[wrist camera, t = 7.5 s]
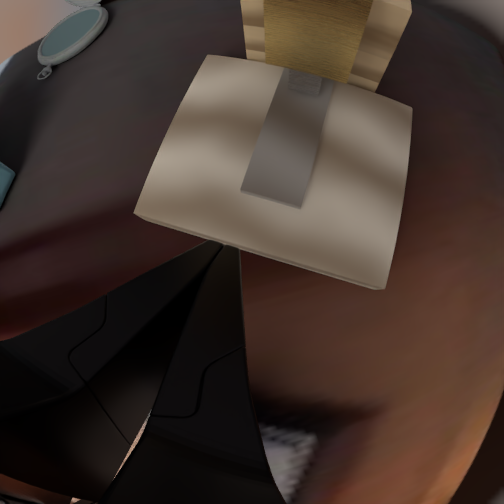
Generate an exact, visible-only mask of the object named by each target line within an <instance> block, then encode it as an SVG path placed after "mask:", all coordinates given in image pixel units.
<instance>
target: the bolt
mask: <svg viewBox="0 0 504 504" xmlns="http://www.w3.org/2000/svg"><path fill="white" fill-rule="evenodd" d="M372 3H373V0H263V6H264V32H265V62H266V64H269V65H274V66H279V67H284V68H288V69H290V71H289V84H288V88H290V89H295V90H299V91H302V92H306V93H310V94H314V95H317V96H318V94H319V90H320V86H321V83H322V79H323V77H324V78H328V79H331V80H335V81H338V82H341V83H345V84H347V81H348V78H349V75H350V72H351V69H352V66H353V63H354V60H355V57H356V54H357V51H358V48H359V44H360V41H361V38H362V35H363V32H364V29H365V26H366V22H367V19H368V16H369V13H370V10H371V6H372Z"/></svg>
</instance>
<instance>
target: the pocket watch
mask: <svg viewBox="0 0 504 504" xmlns="http://www.w3.org/2000/svg"><path fill="white" fill-rule="evenodd" d="M65 1H66V2H68V3H70V4H72V5H75V6H81V7H83V8H81V9H80V10H78V11H76V12H74V13H72V14H71V15H69V16H67V17H66V18H64V19H63V20H62V21H60V22H59V23H58V24H57V25H56V26H55V27H53V29H51V31H50V32H49V33H48V34H47V35H46V36H45V38H44V39H43V41H42V42H41V44H40V46H39V49H38V60H39V62H40V63H41V64H42V65H45V66H47V67H45V68H43V70H42V71H41V72H40V73H39V74H38V76H37V78H38V79H39V80H42V79H45V78H46V77H48V76H49V75H50V74H51V72H52V69H51V66H53V65H57V64H60V63H62V62H64V61H66V60H68V59H70V58H72V57H73V56H75V55H77V54H78V53H80V52H81V51H82V50H84V49H85V48H86V47H87V46H88V45H90V44H91V43H92V42H93V41H94V40H95V39H96V38H97V36H98V35H99V34H100V33H101V32H102V30H103V29H104V28H105V26H106V24H107V21H108V12H107V10H106V9H105V8H103V7H100V4H96V3H98V2H99V1H101V0H65ZM41 73H42V75H43V76H46V77H44V78H39V75H40V74H41ZM48 73H49V74H48ZM47 74H48V75H47Z"/></svg>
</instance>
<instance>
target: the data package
mask: <svg viewBox="0 0 504 504" xmlns="http://www.w3.org/2000/svg"><path fill="white" fill-rule="evenodd" d="M14 176H15V172H14V171H13V170H11V169H10V168H8V167H7V166H6V165H4V164H3V163H2V162H0V207H1V205H2V202H3V200H4V198H5V195H6V193H7V191H8V189H9V187H10V185H11V183H12V181H13V179H14Z"/></svg>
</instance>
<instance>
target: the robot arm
mask: <svg viewBox="0 0 504 504" xmlns="http://www.w3.org/2000/svg"><path fill="white" fill-rule="evenodd" d="M245 347H246V343H245V327H244V311H243V295H242V278H241V260H240V249H239V248H237V247H234V246H231V245H227V244H226V245H224V244H223V243H221V242H218V241H214V240H207V241H205V242H203V243H201V244H199V245H197V246H195V247H193V248H192V249H190V250H188V251H186V252H184V253H182V254H180V255H178V256H176V257H174V258H172V259H170V260H168V261H166V262H164V263H163V264H161V265H159V266H157V267H155V268H153V269H151V270H149V271H147V272H145V273H144V274H142V275H140V276H138V277H136V278H134V279H132V280H130V281H129V282H127V283H125V284H123V285H121V286H119V287H117V288H116V289H114V290H112V291H110V292H108V293H107V295H103V296H101V297H99V298H97V299H95V300H93V301H92V302H90V303H88V304H86V305H84V306H82V307H80V308H78V309H76V310H74V311H72V312H70V313H68V314H65V315H63V316H61V317H59V318H57V319H55V320H52V321H50V322H48V323H45V324H43V325H41V326H39V327H36V328H34V329H32V330H29V331H27V332H25V333H23V334H20V335H18V336H16V337H13V338H11V339H7V340H4V341H0V504H70V502H71V500H72V498H73V497H74V498H78V499H81V500H79V501H77V502H75V503H74V504H286V502H285V500H284V498H283V497H282V495H281V493H280V491H279V489H278V487H277V485H276V483H275V481H274V478H273V476H272V473H271V470H270V467H269V464H268V461H267V457H266V454H265V450H264V446H263V442H262V438H261V434H260V430H259V426H258V422H257V417H256V413H255V409H254V405H253V400H252V395H251V389H250V384H249V376H248V367H247V356H246V348H245ZM151 409H152V410H151ZM150 411H151V413H150ZM149 413H150V417H149V419H148V421H147V424H146V426H145V429H144V431H143V433H142V435H141V437H140V440H139V441H138V443H137V445H136V446H135V448H134V449H133V451H132V452H131V454H130V455H129V457H128V458H127V460H126V461H125V463H124V464H123V466H122V467H121V469H120V470H119V468H120V466H121V464H122V462H123V460H124V459H125V457H126V455H127V453H128V451H129V449H130V447H131V446H130V445H132V444H133V442H134V440H135V438H136V436H137V434H138V433H139V431H140V429H141V427H142V425H143V423H144V422H145V420H146V418H147V416H148V414H149ZM118 470H119V472H118V473H117V471H118ZM116 473H117V475H116ZM115 475H116V476H115ZM114 477H115V478H114ZM113 479H114V480H113Z"/></svg>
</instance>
